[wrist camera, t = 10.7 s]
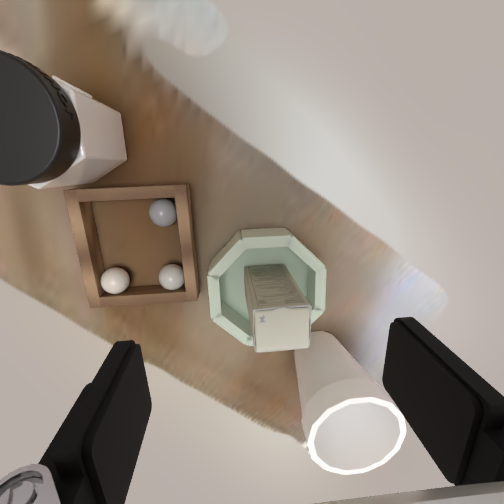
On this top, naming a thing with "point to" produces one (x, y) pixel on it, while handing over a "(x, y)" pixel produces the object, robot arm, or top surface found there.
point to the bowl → (260, 253)
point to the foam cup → (344, 409)
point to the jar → (53, 130)
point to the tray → (91, 252)
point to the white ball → (171, 277)
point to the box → (276, 309)
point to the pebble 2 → (163, 212)
